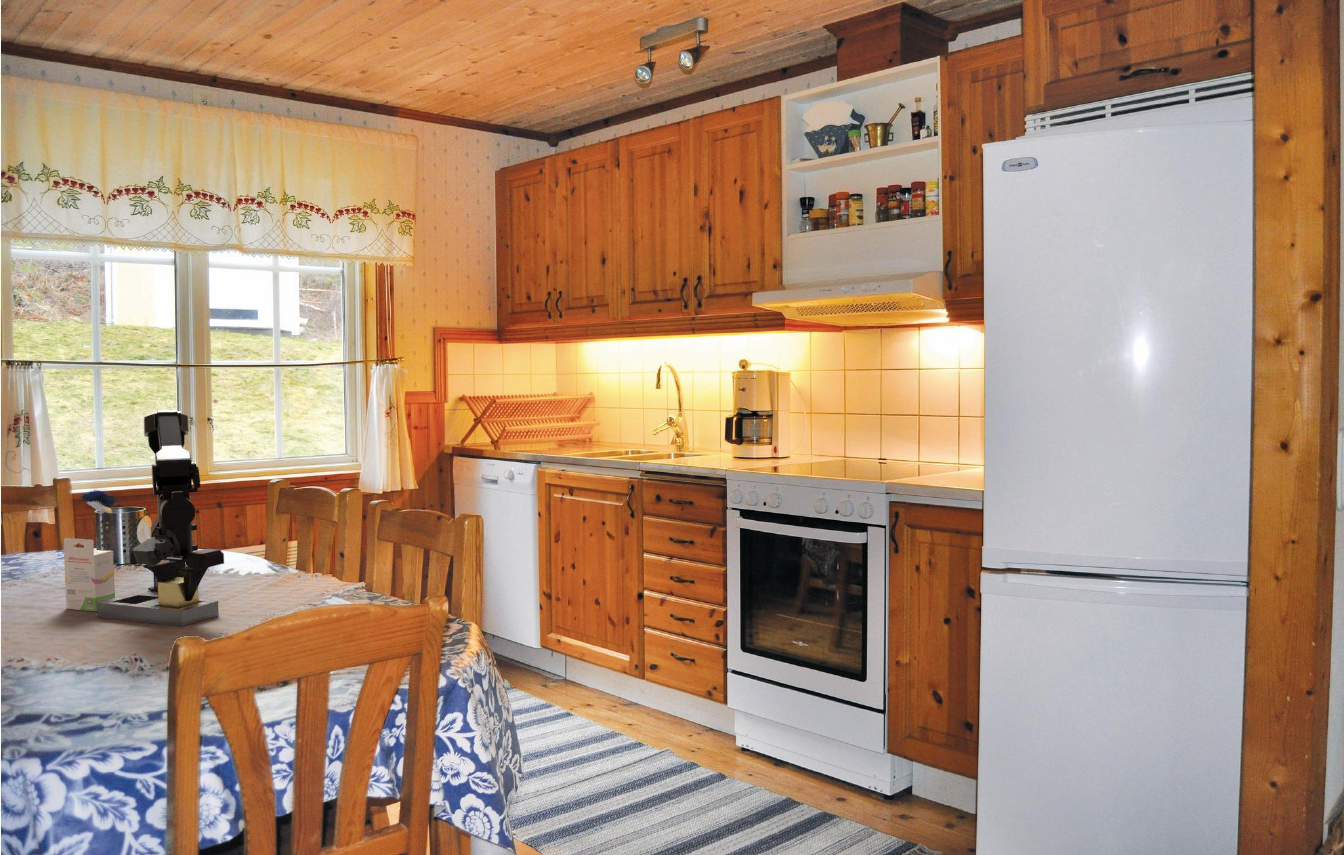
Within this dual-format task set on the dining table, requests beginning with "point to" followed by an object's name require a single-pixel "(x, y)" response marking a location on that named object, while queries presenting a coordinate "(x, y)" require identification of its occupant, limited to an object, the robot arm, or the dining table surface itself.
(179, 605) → the natural wood cube
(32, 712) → the dining table surface
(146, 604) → the grey flat block
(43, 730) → the dining table surface
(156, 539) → the robot arm
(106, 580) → the ink box
